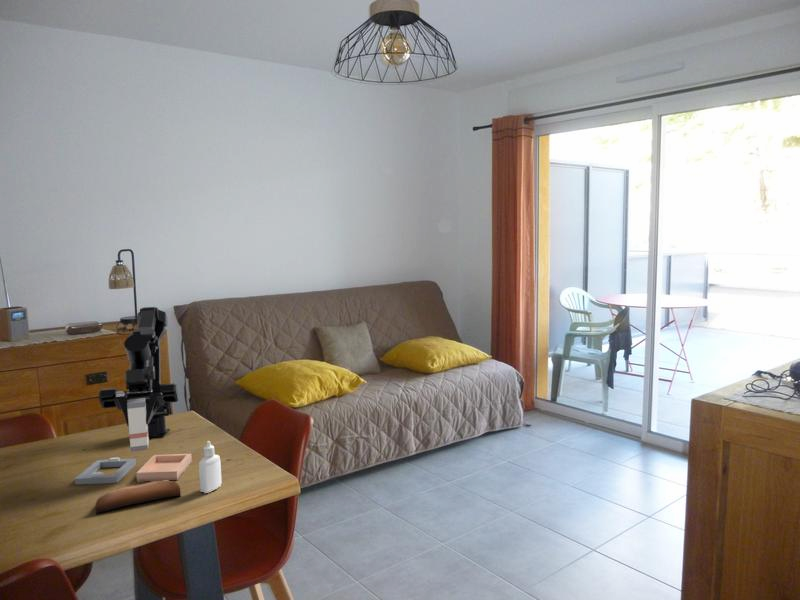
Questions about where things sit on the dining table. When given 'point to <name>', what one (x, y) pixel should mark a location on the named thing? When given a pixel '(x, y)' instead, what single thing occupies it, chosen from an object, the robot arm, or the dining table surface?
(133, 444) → the white rectangular block
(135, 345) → the robot arm
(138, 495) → the sunglasses case
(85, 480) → the clip frame
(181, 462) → the dish
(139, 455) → the dining table surface
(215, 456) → the eye dropper bottle
